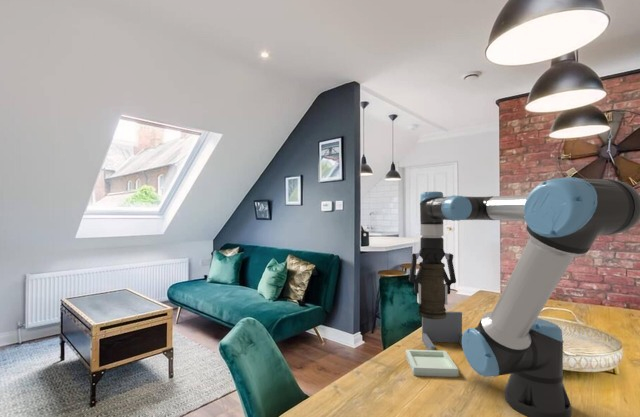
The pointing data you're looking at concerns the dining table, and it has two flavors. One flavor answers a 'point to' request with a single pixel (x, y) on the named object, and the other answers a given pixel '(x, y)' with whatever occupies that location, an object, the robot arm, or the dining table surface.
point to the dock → (442, 329)
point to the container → (432, 291)
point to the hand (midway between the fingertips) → (432, 303)
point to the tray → (431, 363)
